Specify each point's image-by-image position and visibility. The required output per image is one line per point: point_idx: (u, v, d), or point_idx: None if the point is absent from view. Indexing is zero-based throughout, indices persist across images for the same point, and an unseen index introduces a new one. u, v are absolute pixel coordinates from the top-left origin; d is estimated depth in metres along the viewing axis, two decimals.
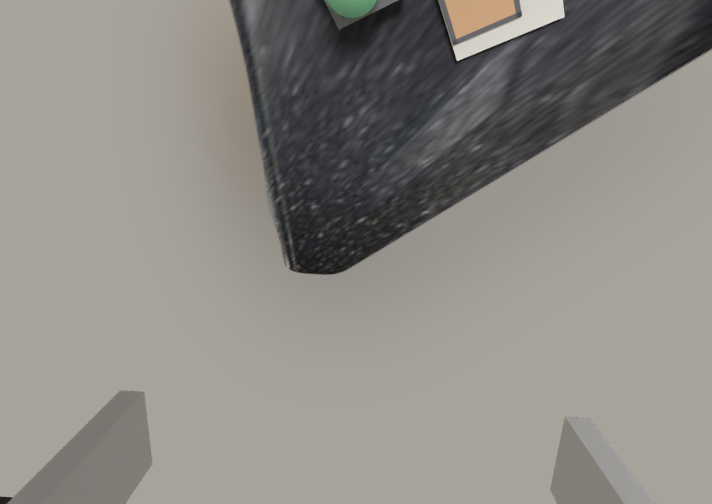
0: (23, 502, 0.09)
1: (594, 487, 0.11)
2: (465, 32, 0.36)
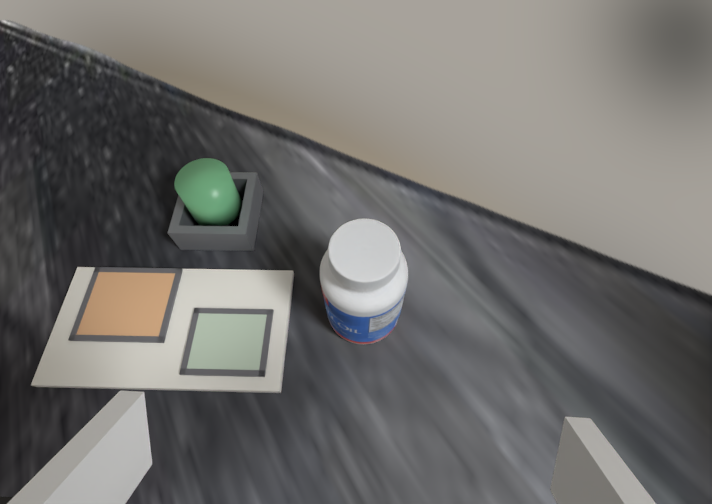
0: (23, 502, 0.09)
1: (594, 487, 0.11)
2: (97, 282, 0.32)
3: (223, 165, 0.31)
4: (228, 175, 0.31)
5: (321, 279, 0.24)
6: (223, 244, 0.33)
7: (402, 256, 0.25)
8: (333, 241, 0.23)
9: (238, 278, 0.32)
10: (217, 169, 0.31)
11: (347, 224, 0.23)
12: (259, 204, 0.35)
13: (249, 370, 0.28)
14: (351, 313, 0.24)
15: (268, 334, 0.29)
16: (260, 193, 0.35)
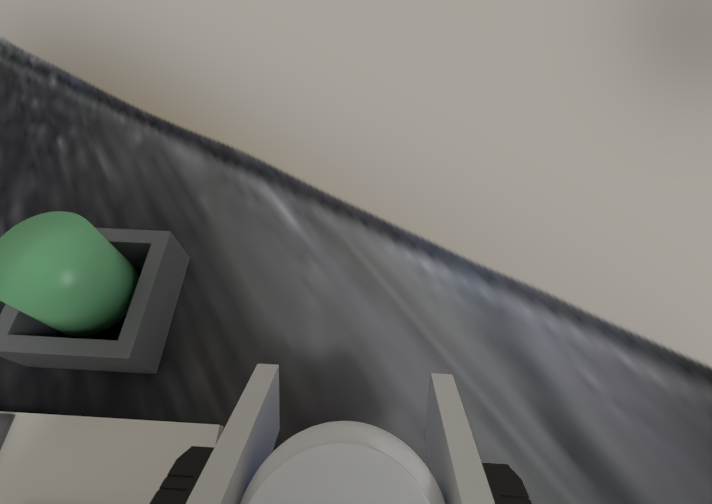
0: (227, 446, 0.11)
1: (437, 426, 0.13)
2: None
3: (89, 227, 0.16)
4: (93, 249, 0.16)
5: None
6: (97, 365, 0.18)
7: None
8: None
9: (114, 438, 0.17)
10: (75, 235, 0.16)
11: (295, 463, 0.08)
12: (176, 284, 0.20)
13: None
14: None
15: None
16: (180, 264, 0.21)
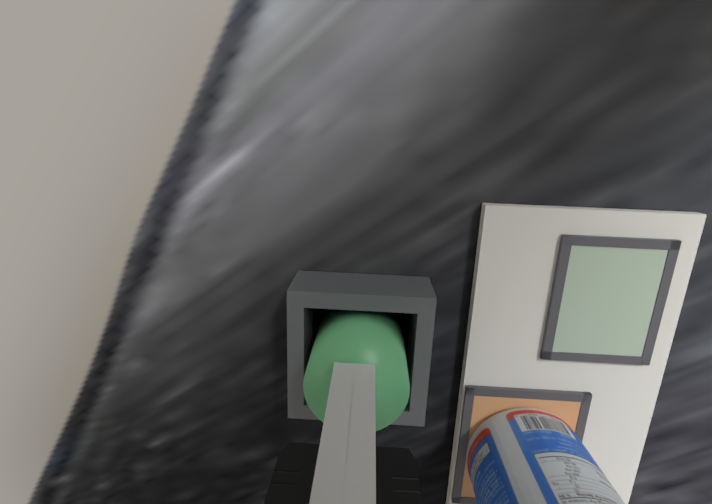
0: (332, 442, 0.11)
1: None
2: None
3: (322, 354, 0.15)
4: (348, 342, 0.15)
5: None
6: None
7: None
8: None
9: (491, 298, 0.18)
10: (332, 364, 0.15)
11: None
12: (335, 276, 0.19)
13: (662, 265, 0.18)
14: None
15: (609, 239, 0.17)
16: (312, 276, 0.18)
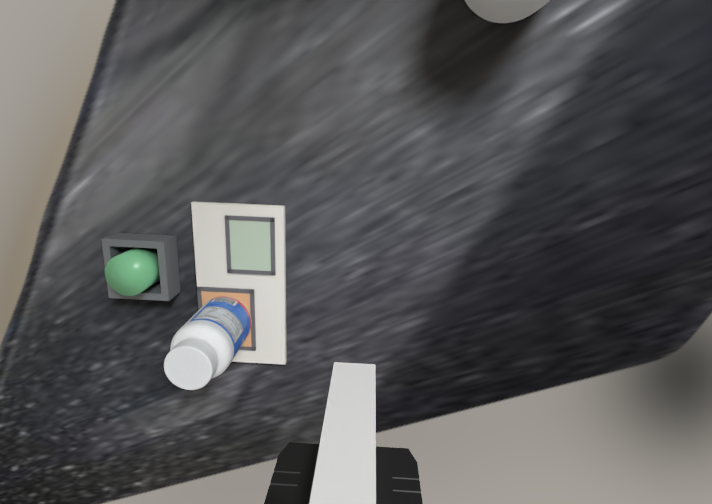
0: (332, 442, 0.11)
1: None
2: None
3: (110, 261, 0.38)
4: (120, 255, 0.38)
5: None
6: (173, 259, 0.41)
7: (188, 329, 0.35)
8: (184, 387, 0.34)
9: (201, 244, 0.41)
10: (115, 265, 0.38)
11: (170, 378, 0.34)
12: (131, 234, 0.41)
13: (270, 228, 0.40)
14: (232, 357, 0.37)
15: (244, 217, 0.40)
16: (120, 234, 0.41)
